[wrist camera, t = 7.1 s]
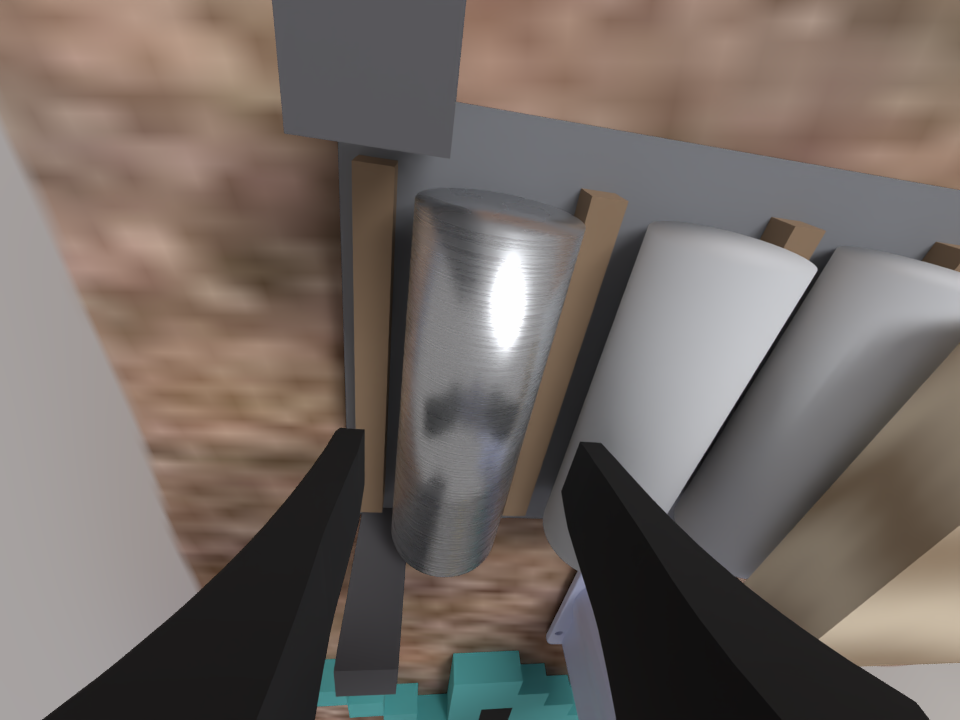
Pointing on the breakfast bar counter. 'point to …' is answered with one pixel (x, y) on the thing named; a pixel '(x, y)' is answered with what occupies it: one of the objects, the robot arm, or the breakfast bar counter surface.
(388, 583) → the roller bed
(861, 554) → the slab
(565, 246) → the loose roller
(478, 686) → the alien figure
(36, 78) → the breakfast bar counter surface
